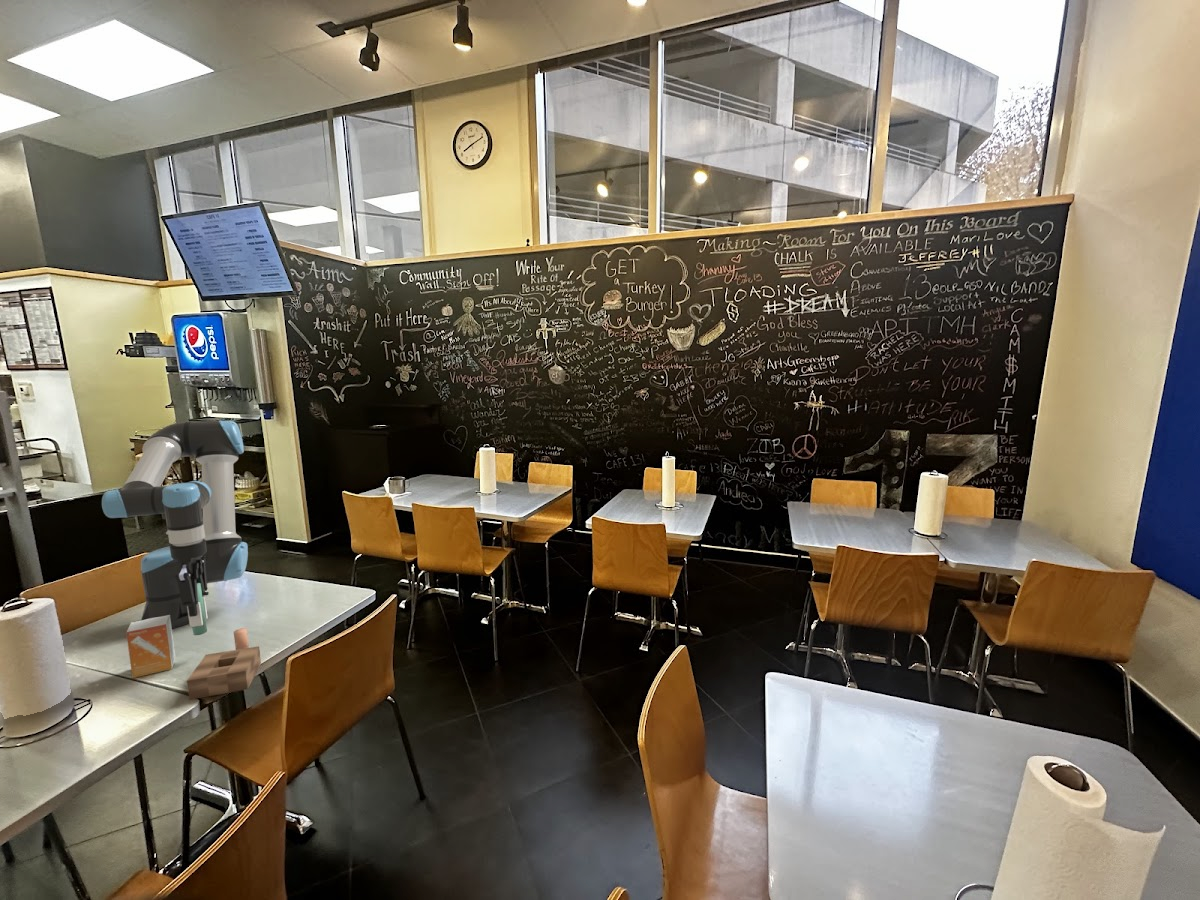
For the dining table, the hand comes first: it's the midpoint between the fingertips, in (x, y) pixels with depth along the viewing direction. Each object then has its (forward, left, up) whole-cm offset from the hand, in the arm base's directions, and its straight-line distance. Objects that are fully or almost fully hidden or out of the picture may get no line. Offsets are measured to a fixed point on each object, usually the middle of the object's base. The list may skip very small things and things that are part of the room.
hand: (198, 622), depth 140 cm
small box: (+3, -10, -10) cm, 15 cm away
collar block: (+16, +10, -10) cm, 21 cm away
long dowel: (0, 0, -3) cm, 3 cm away
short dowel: (+3, +10, -10) cm, 14 cm away
